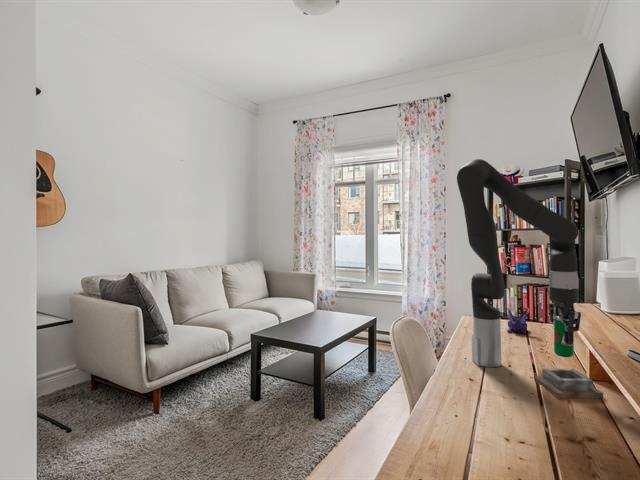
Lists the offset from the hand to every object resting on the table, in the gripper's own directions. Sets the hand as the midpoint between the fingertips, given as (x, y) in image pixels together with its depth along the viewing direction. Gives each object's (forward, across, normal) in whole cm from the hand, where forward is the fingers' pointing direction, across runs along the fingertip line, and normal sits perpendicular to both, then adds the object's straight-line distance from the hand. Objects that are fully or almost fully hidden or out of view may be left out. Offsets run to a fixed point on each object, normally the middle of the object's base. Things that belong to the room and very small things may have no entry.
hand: (563, 340), depth 114 cm
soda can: (+5, 0, 0) cm, 5 cm away
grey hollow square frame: (+15, 0, +1) cm, 15 cm away
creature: (+15, -66, +13) cm, 69 cm away
